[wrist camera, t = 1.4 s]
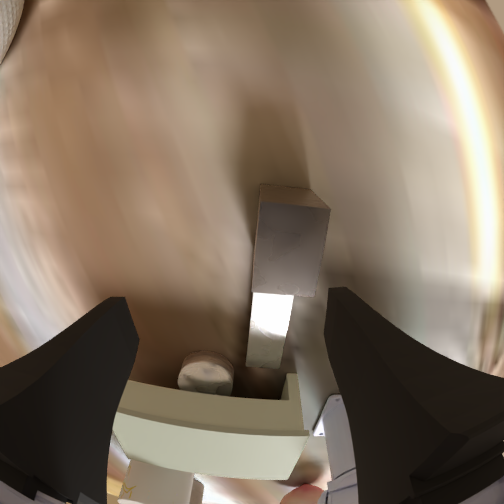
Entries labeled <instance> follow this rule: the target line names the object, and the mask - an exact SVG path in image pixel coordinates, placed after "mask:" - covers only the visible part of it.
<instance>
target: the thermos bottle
mask: <svg viewBox="0 0 504 504" xmlns="http://www.w3.org/2000/svg"><path fill="white" fill-rule="evenodd" d="M203 491H204V486H203V484H201V483H200V482H198V481H196V480H193V485H192V491H191V496H190V502H189V504H202V498H203Z"/></svg>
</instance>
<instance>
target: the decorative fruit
mask: <svg viewBox="0 0 504 504" xmlns="http://www.w3.org/2000/svg"><path fill="white" fill-rule="evenodd" d="M323 492H324V490H322V489H321V488H319V487H316V486H313V485H309V484H303V485H302V486H300V487H298V488H296V489H294V490H292V491H291V492H289V493H288V494H286V495H285V496H284V497H283V499H282V500H281V502H280V504H317V502H318V499H319V498H320V496H321V494H322V493H323Z"/></svg>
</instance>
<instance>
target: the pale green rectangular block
mask: <svg viewBox="0 0 504 504" xmlns="http://www.w3.org/2000/svg"><path fill="white" fill-rule="evenodd" d="M113 431H114V433H115V435H116V437H117V439H118V441H119V443H120V445H121V447H122V449H123V451H124V453H125V454H126V456H127V458H128V459H132V460H135V461H139V462H143V463H147V464H151V465H155V466H160V467H164V468H169V469H174V470H179V471H185V472H191V473H197V474H204V475H211V476H220V477H229V478H242V479H261V480H288V478H289V476H290V474H291V472H292V470H293V469H294V467H295V465H296V463H297V461H298V459H299V457H300V455H301V453H302V451H303V449H304V447H305V445H306V443H307V441H308V438H309V436H310V435H309V430H304V425H303V416H302V408H301V399H300V391H299V383H298V375H297V374H294V373H287V375H286V379H285V384H284V388H283V392H282V396H281V399H280V400H266V399H251V398H239V397H228V396H219V395H211V394H203V393H196V392H189V391H183V390H177V389H171V388H166V387H160V386H155V385H150V384H145V383H141V382H136V381H132V380H128V381H127V384H126V386H125V389H124V392H123V395H122V397H121V400H120V403H119V406H118V409H117V412H116V415H115V419H114V424H113Z"/></svg>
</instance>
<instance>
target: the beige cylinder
mask: <svg viewBox="0 0 504 504" xmlns="http://www.w3.org/2000/svg"><path fill="white" fill-rule="evenodd" d="M193 479H194V473H191V472H185V471H179V470H174V469H169V468H164V467H160V466H155V465H151V464H147V463H143V462H139V461H135V460H132V459H131V461H130V464H129V467H128V470H127V473H126V476H125V479H124V482H123V485H122V488H121V492H120V495H119V498H118V502H119V503H120V504H189V502H190V496H191V491H192V485H193Z"/></svg>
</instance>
